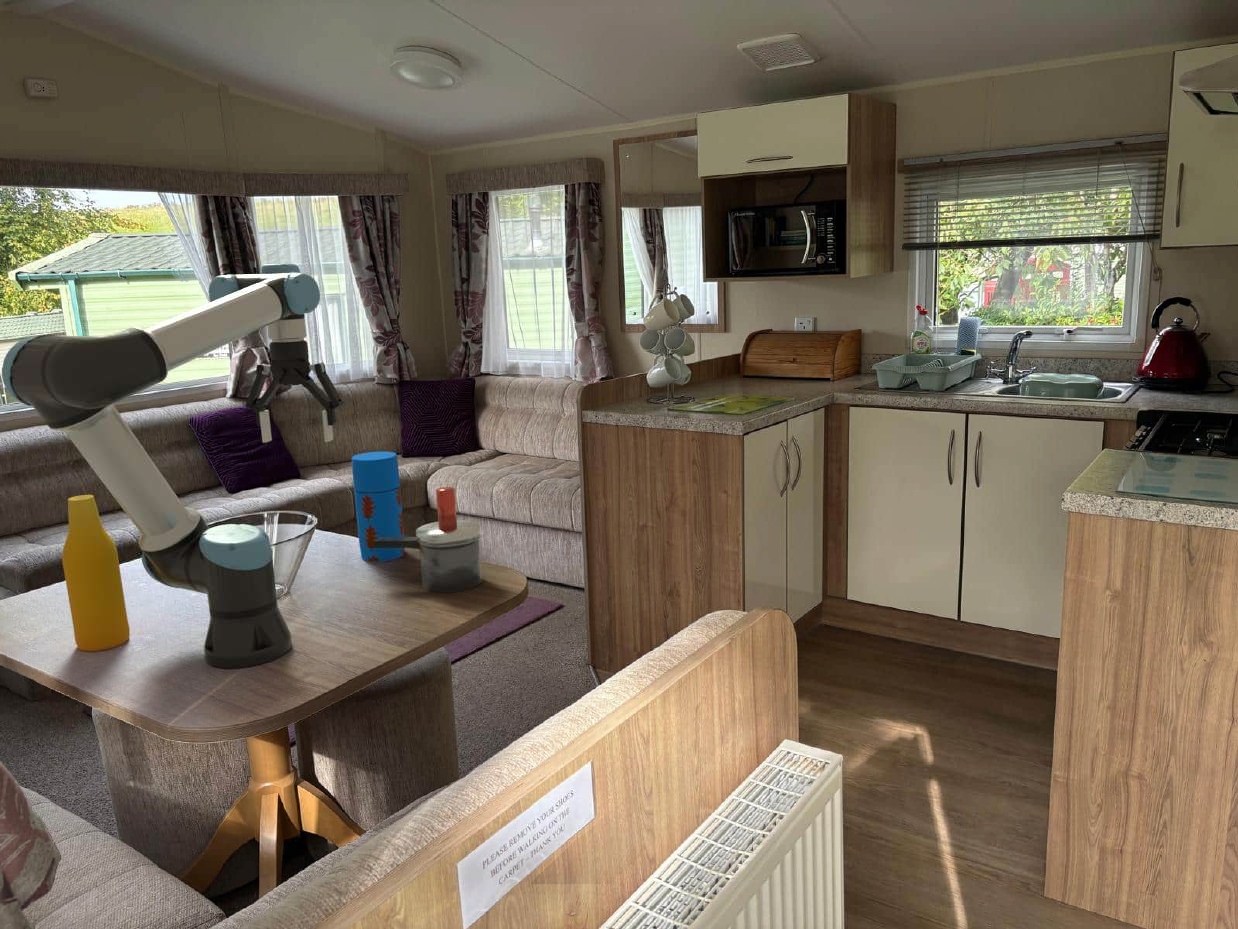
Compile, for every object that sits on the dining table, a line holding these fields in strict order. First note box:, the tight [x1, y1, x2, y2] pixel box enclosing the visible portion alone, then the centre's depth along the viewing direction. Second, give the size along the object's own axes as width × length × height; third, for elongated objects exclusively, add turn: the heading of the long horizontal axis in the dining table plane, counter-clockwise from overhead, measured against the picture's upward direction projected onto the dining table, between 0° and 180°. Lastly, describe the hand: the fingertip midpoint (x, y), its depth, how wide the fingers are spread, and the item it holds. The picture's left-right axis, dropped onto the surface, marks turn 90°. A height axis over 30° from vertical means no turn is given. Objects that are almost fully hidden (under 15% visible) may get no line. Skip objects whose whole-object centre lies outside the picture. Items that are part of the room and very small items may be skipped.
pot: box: [374, 534, 483, 593], centre depth 206 cm, size 14×23×11 cm, turn 87°
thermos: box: [351, 451, 406, 562], centre depth 226 cm, size 11×11×25 cm
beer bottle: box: [61, 494, 131, 652], centre depth 176 cm, size 9×9×29 cm
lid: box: [415, 486, 481, 545], centre depth 204 cm, size 14×14×10 cm
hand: (298, 441), depth 195 cm, fingers open, 13 cm apart
